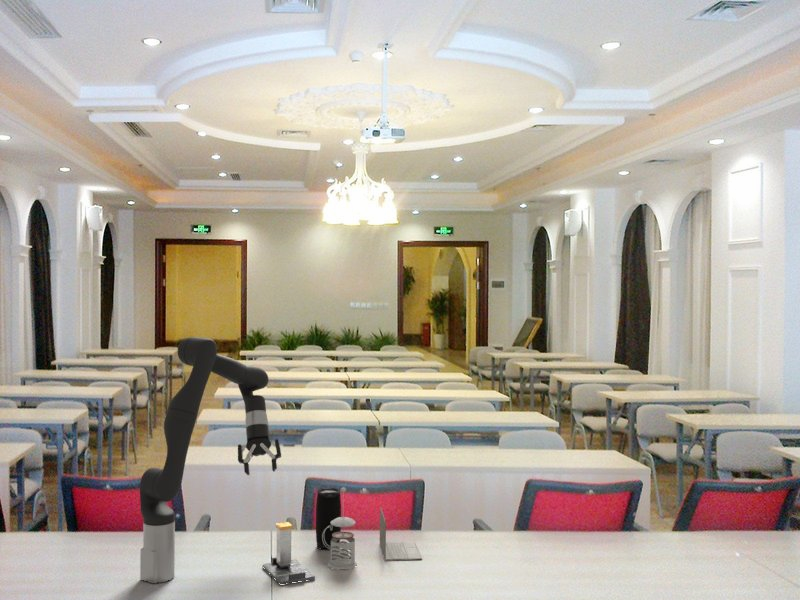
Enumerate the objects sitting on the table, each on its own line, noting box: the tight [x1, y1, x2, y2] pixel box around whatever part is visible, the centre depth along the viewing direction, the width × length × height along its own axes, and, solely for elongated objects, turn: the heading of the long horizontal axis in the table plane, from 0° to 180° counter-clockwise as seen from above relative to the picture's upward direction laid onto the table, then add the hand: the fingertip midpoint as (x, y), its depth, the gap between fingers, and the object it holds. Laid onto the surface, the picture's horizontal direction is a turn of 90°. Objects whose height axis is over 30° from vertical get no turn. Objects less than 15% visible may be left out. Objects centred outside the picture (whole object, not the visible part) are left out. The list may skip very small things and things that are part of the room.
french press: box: [322, 487, 358, 570], centre depth 267 cm, size 10×12×25 cm
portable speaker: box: [315, 487, 342, 550], centre depth 285 cm, size 9×9×20 cm
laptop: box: [379, 507, 423, 562], centre depth 281 cm, size 18×12×13 cm
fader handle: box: [275, 521, 293, 568], centre depth 262 cm, size 4×4×13 cm
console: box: [262, 557, 316, 584], centre depth 259 cm, size 17×11×3 cm, turn 27°
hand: (261, 472), depth 278 cm, fingers open, 8 cm apart
